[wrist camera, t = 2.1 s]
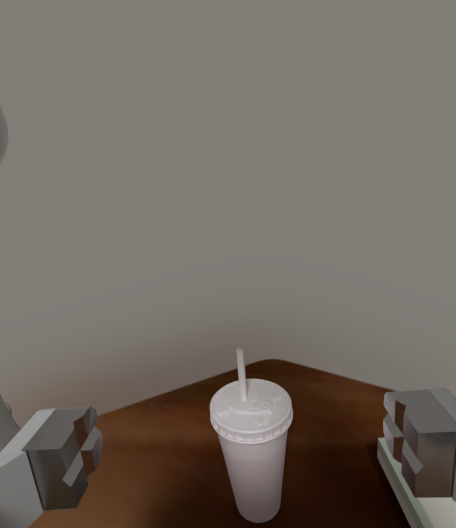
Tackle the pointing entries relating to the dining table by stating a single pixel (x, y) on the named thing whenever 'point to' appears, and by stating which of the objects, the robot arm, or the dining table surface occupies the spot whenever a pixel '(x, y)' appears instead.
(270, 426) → the smoothie
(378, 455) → the caster cart
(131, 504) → the dining table surface
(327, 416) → the dining table surface
